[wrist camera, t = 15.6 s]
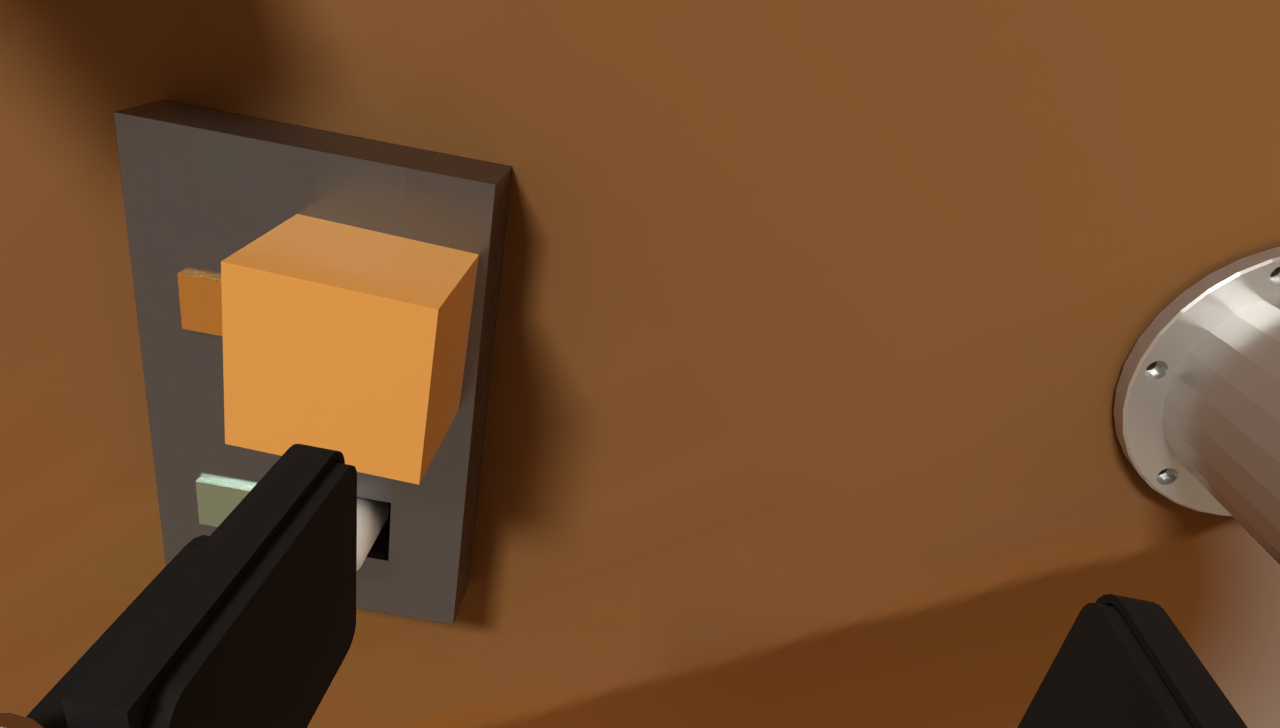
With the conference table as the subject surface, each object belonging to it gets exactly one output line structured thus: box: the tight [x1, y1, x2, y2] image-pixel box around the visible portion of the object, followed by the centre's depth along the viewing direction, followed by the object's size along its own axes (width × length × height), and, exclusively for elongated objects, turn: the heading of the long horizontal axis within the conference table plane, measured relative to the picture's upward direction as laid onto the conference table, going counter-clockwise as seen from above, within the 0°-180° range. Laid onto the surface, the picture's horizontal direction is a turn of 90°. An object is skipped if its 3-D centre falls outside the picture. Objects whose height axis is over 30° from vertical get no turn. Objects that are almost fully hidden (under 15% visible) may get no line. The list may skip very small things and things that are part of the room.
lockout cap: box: [221, 214, 479, 485], centre depth 30 cm, size 7×7×6 cm
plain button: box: [356, 497, 389, 571], centre depth 37 cm, size 2×2×3 cm
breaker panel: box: [114, 100, 512, 625], centre depth 35 cm, size 14×22×3 cm, turn 170°
